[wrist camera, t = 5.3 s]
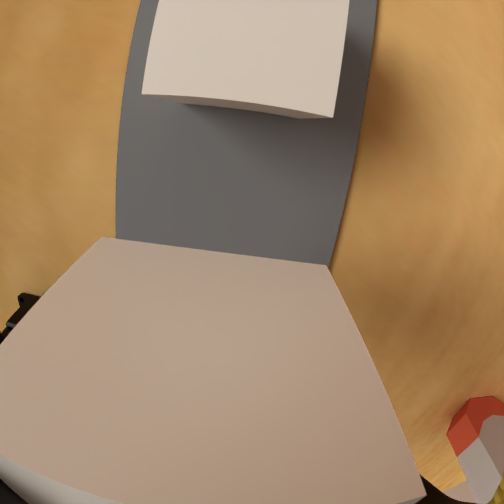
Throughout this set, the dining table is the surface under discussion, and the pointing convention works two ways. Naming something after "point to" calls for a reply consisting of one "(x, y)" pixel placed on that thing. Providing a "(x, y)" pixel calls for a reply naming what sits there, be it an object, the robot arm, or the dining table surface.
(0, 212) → the dining table surface
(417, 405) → the dining table surface
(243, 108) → the closed white box
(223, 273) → the white cube
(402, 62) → the dining table surface
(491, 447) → the french fries container
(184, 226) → the mat
